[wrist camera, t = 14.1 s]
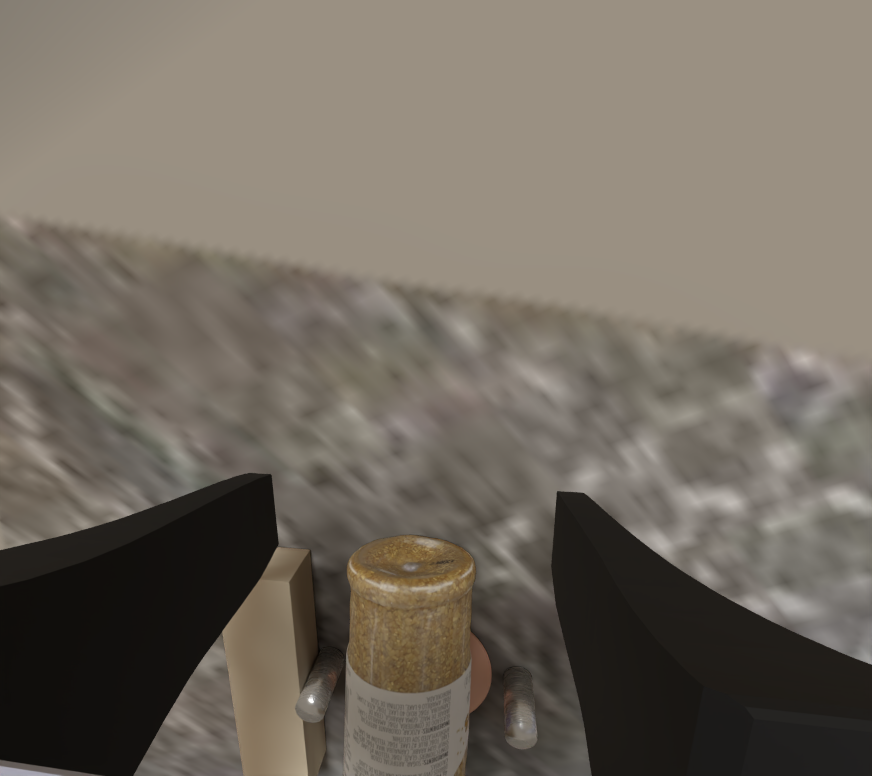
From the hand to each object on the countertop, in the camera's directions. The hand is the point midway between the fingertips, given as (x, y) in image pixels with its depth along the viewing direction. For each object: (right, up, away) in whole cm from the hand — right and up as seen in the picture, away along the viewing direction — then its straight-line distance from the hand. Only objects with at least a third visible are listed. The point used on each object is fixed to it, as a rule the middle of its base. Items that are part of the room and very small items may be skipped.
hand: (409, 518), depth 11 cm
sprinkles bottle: (0, -2, +4) cm, 5 cm away
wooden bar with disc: (-2, -9, +9) cm, 13 cm away
